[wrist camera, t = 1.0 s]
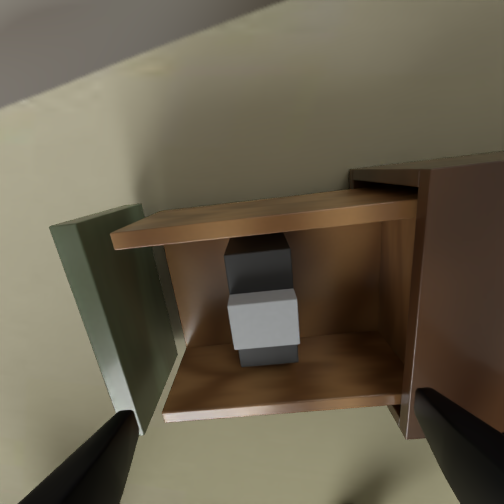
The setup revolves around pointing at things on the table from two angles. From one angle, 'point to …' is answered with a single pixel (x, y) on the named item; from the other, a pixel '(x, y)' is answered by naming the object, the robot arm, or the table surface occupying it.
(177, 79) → the table surface
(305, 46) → the table surface
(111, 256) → the drawer
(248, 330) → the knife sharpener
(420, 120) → the table surface
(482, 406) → the cabinet
